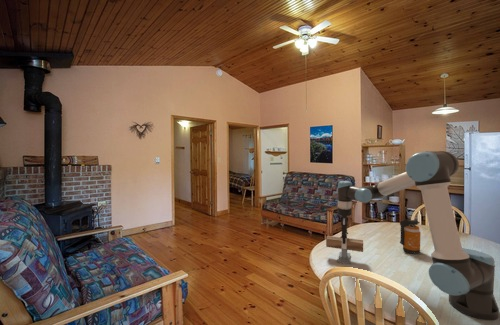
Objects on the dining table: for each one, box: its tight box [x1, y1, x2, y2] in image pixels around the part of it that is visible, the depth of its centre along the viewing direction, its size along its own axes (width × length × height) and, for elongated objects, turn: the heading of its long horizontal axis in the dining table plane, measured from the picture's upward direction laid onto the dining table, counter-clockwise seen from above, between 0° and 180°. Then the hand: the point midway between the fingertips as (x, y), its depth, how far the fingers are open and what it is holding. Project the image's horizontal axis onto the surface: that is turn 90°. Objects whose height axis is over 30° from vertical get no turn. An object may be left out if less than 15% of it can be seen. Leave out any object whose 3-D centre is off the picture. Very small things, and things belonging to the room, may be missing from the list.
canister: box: [399, 219, 422, 254], centre depth 153 cm, size 9×11×20 cm
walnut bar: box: [325, 235, 364, 253], centre depth 144 cm, size 5×20×5 cm, turn 66°
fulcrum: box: [337, 249, 351, 265], centre depth 144 cm, size 12×6×7 cm, turn 156°
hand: (344, 246), depth 144 cm, fingers open, 5 cm apart
